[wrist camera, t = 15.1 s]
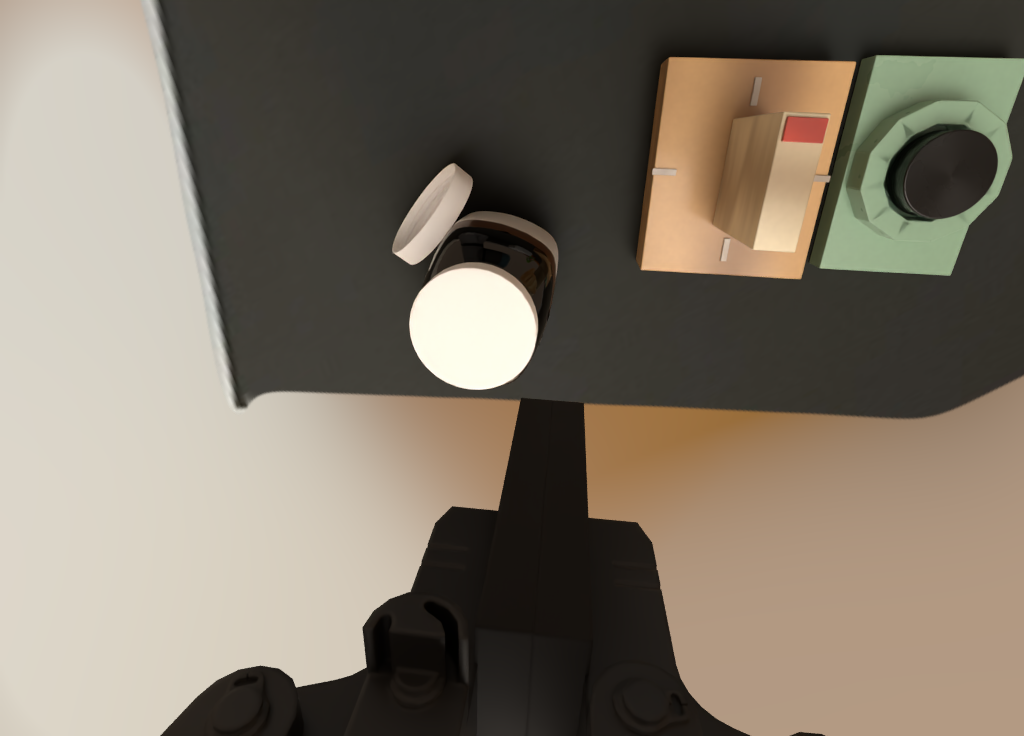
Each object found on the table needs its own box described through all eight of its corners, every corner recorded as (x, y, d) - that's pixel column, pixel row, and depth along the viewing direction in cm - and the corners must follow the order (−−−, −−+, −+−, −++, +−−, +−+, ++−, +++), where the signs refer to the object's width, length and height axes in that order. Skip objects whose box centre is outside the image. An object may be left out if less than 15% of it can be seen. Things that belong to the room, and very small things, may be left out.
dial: (745, 227, 32) (797, 253, 25) (712, 225, 33) (753, 251, 25) (769, 120, 30) (834, 113, 23) (733, 118, 30) (785, 110, 23)
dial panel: (634, 260, 37) (639, 270, 34) (659, 63, 32) (667, 56, 29) (785, 269, 36) (803, 280, 33) (834, 68, 31) (860, 60, 28)
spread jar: (530, 355, 41) (515, 431, 30) (389, 311, 40) (323, 372, 30) (582, 198, 36) (585, 223, 25) (421, 148, 36) (356, 151, 25)
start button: (901, 128, 30) (920, 127, 28) (989, 131, 29) (1013, 130, 28) (876, 213, 31) (892, 217, 30) (958, 217, 31) (979, 221, 29)
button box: (861, 59, 31) (894, 49, 28) (1007, 62, 30) (1058, 53, 27) (808, 262, 36) (831, 274, 33) (934, 269, 35) (970, 282, 32)
